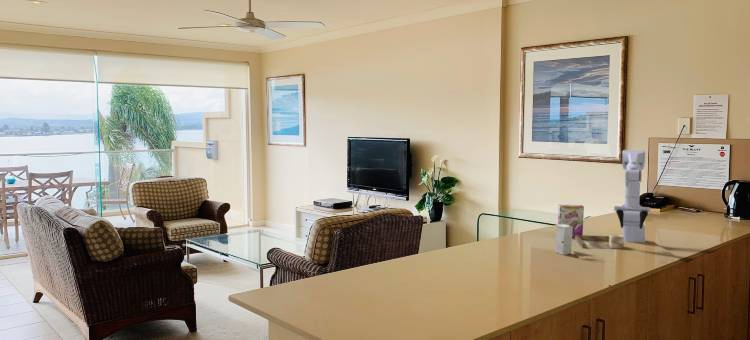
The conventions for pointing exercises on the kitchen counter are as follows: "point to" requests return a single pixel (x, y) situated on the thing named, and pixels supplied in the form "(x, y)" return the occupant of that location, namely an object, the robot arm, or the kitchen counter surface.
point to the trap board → (594, 242)
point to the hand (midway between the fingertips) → (631, 227)
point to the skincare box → (563, 239)
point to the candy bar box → (571, 217)
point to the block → (616, 241)
